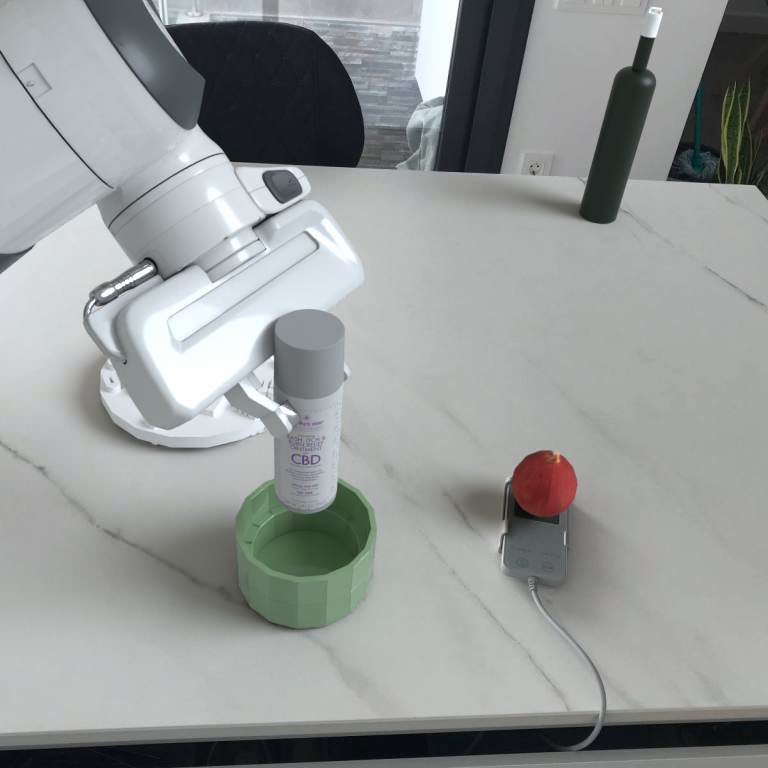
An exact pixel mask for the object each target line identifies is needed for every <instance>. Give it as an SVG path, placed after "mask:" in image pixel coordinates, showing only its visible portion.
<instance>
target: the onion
mask: <svg viewBox="0 0 768 768" xmlns="http://www.w3.org/2000/svg"><path fill="white" fill-rule="evenodd" d="M511 479H512V480H511V490H512V493H513V497H514V499H515V501H516V503H517V504H518V505H519V506H520V508H522V510H523V511H525V512H526V513H528V514H530V515H532V516H535V517H539V518H554V517H555V516H558V515H560V514H562V513H564V512H565V511H566V510H567V509H568V508H570V506H571V505H572V504H573V503H574V501H575V499H576V495H577V491H578V486H579V484H578V483H579V482H578V478H577V475H576V472H575V469H574V467H573V465H572V464H571V463H570V461H568V459H567V458H566V457H565V456H564V455H562V454H561V452H560V451H558V450H551V449H550V450H548V449H545V450H544V449H542V450H541V449H540V450H537V451H535V452H532V453H529V454H527V455H526V456H524V457H523V459H521V461H520V462H519V463H518V464H517V465H516V467H515V468H514V470H513V473H512V478H511Z"/></svg>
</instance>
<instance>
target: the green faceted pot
mask: <svg viewBox="0 0 768 768" xmlns="http://www.w3.org/2000/svg"><path fill="white" fill-rule="evenodd" d="M377 537H378V526H377V521H376V515H375V509H374V507H373V506H372V504H371V503H370V502H369V501H368V499H367V498H366V496H365V495H364V494H363V492H362V491H361V490H360V489H358V488H357V487H355V486H354V485H352V484H351V483H349V482H347V481H346V480H344V479H342V478H341V477H338V481H337V493H336V497H335V499H334V501H333V502H332V503H331V505H329V506H328V507H327V508H325V509H324V510H322V511H319V512H316V513H311V514H301V513H295V512H292V511H290V510H288V509H286V508H284V507H283V506H282V505H281V504H280V503H279V502H278V500H277V498H276V496H275V481H274V478H272V479H270V480H266V481H265V482H263V483H261V485H259V486H258V487H257V488H256V489H255V490H253V491H251V493H250V494H248V495H247V496H246V497H245V498H244V500H243V502H242V504H241V506H240V508H239V509H238V512H237V514H236V516H235V548H236V549H235V550H236V562H237V576H238V587H239V589H240V591H241V593H242V595H243V597H244V598H245V600H246V602H247V604H248V606H249V607H250V608H251V609H252V610H254V611H255V612H257V613H258V614H259V615H260V616H261V617H263V618H264V619H266V620H267V621H268V622H270V623H272V624H273V623H274V624H277V625H280V626H284V627H289V628H292V629H296V630H300V629H311V628H323V627H326V626H328V625H330V624H332V623H335V622H337V621H340V620H341V619H344V618H345V617H348V616H349V615H350V614H351V613H352V612H353V611H354V610H355V609H356V608H357V607H358V606H359V604H361V603H362V601H363V600H364V599H365V598H366V596H367V593H368V591H369V588H370V584H371V581H372V577H373V571H374V562H375V561H374V560H375V552H376V545H377V544H376V543H377Z"/></svg>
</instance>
